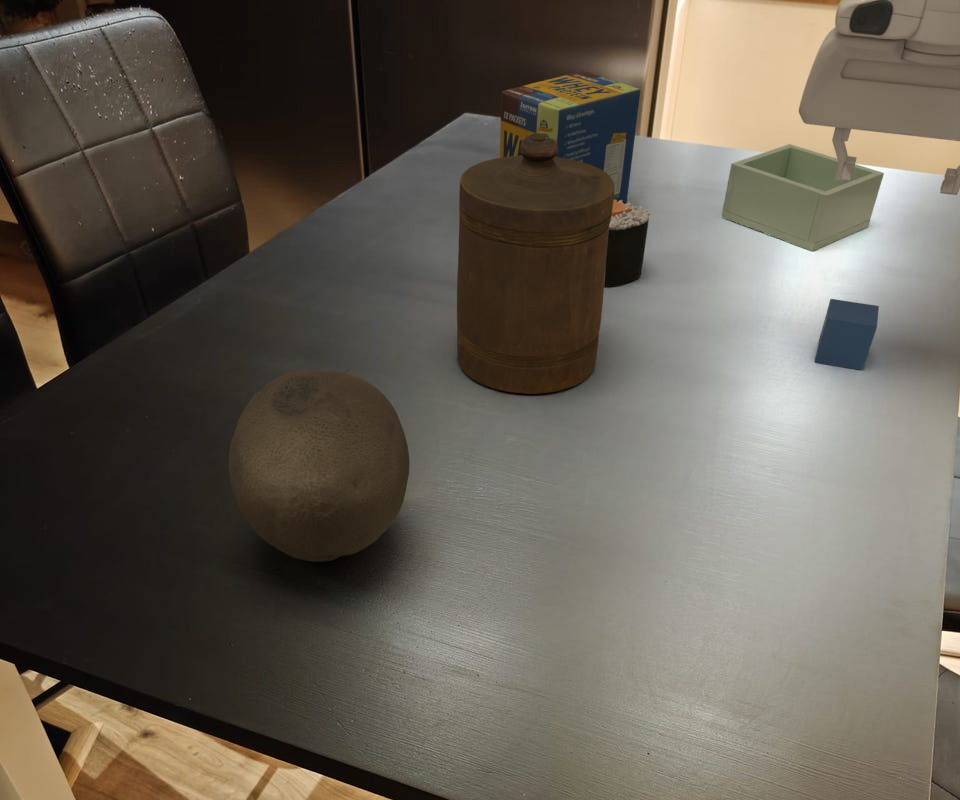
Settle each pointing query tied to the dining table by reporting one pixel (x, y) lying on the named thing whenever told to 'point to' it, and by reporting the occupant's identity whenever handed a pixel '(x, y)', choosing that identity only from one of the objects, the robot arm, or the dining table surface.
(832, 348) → the block
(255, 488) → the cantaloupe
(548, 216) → the wooden container
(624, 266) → the sushi
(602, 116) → the protein box
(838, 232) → the green storage bin
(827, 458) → the dining table surface
